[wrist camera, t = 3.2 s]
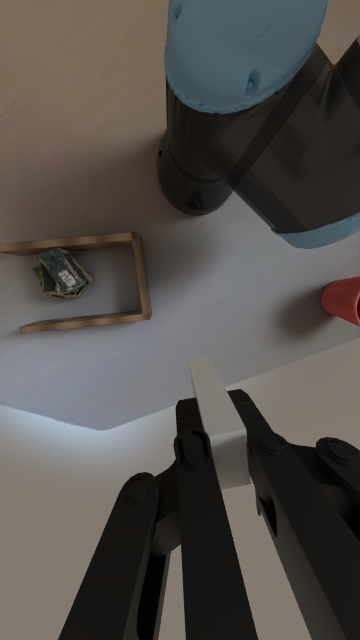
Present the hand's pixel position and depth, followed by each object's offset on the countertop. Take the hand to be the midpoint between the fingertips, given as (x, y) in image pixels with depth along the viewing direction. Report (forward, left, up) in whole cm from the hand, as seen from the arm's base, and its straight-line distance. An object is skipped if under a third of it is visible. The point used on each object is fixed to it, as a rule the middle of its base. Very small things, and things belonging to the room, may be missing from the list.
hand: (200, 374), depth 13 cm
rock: (-18, -18, -29) cm, 38 cm away
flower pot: (+20, +31, -29) cm, 47 cm away
